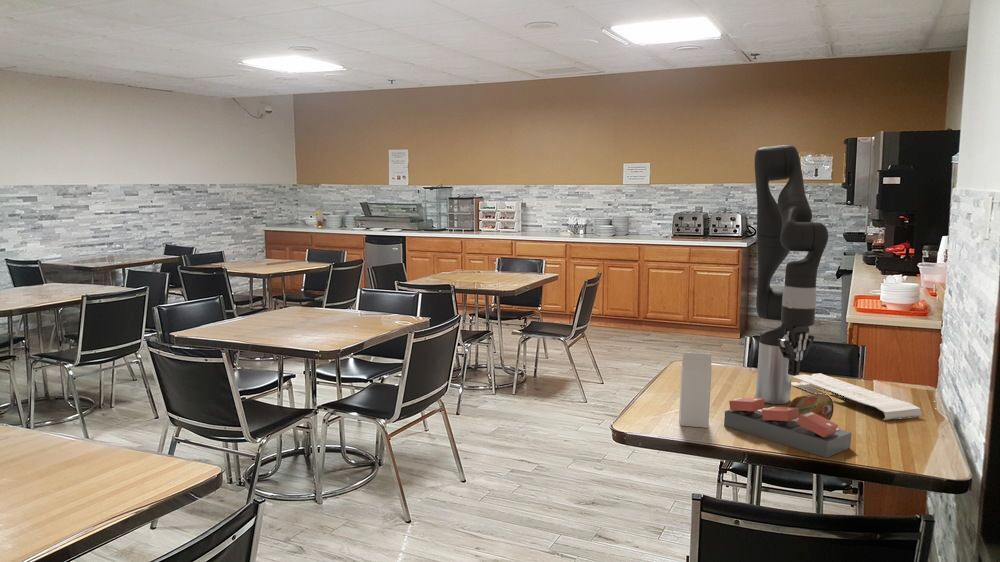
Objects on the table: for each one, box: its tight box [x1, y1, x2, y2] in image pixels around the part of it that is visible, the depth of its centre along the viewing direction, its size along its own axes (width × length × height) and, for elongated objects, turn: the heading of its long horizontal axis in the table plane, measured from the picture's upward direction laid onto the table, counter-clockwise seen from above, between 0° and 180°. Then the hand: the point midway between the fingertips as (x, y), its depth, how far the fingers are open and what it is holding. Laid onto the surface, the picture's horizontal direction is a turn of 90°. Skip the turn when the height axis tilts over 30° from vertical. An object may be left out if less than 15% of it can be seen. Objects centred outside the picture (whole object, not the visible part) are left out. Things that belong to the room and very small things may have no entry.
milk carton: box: [678, 351, 712, 429], centre depth 191 cm, size 7×7×19 cm
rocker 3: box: [797, 411, 839, 437], centre depth 173 cm, size 5×7×2 cm
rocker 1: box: [728, 397, 766, 411], centre depth 188 cm, size 5×7×2 cm
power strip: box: [723, 407, 852, 459], centre depth 183 cm, size 11×28×5 cm, turn 38°
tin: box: [788, 393, 835, 421], centre depth 192 cm, size 15×3×8 cm, turn 117°
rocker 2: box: [762, 406, 799, 421], centre depth 181 cm, size 5×7×2 cm
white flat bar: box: [791, 372, 923, 421], centre depth 217 cm, size 12×4×40 cm
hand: (793, 374), depth 177 cm, fingers closed
